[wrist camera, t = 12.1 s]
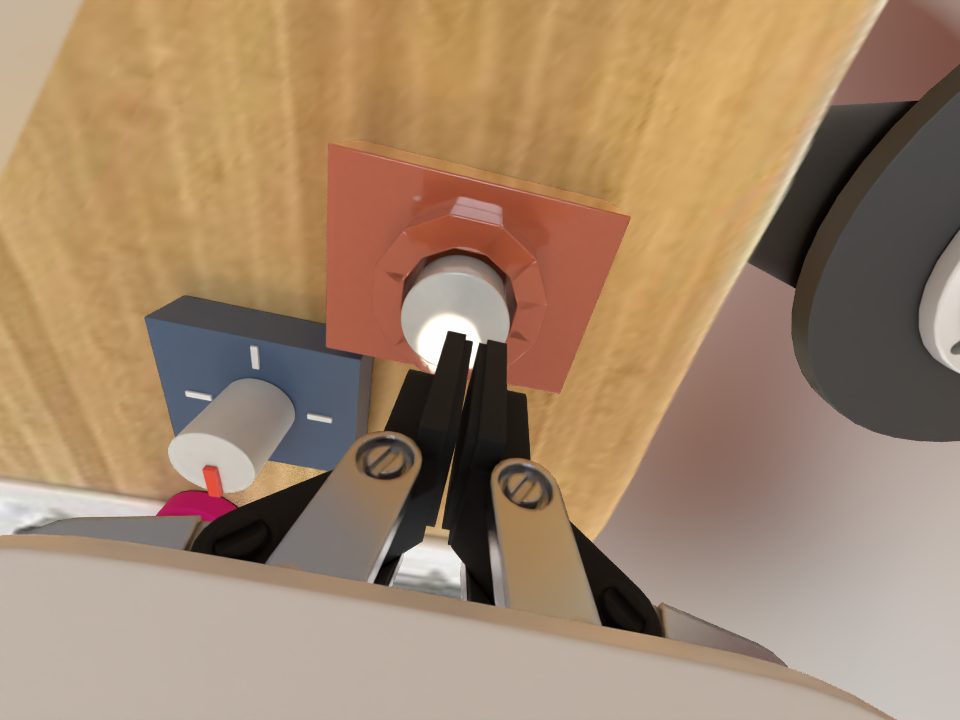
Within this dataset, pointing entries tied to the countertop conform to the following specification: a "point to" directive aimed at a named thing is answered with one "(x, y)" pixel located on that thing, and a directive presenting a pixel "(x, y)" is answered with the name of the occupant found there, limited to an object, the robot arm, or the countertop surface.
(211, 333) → the tap panel
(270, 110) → the countertop surface
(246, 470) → the grey dial knob
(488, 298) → the push button
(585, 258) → the orange button housing
